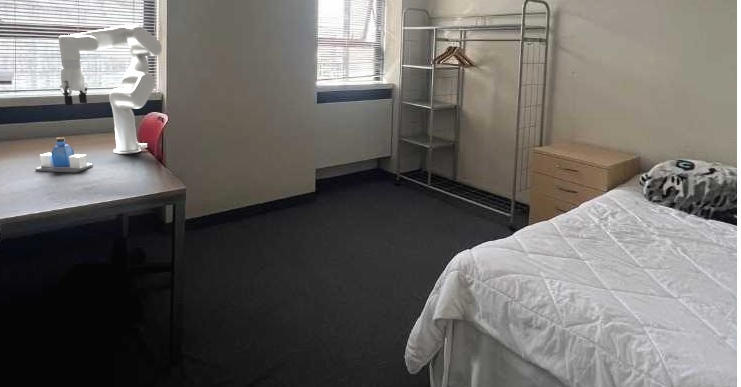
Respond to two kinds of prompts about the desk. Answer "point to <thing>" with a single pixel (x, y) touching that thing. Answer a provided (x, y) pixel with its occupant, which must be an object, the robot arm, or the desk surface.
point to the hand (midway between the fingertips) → (76, 104)
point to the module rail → (76, 165)
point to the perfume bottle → (61, 153)
